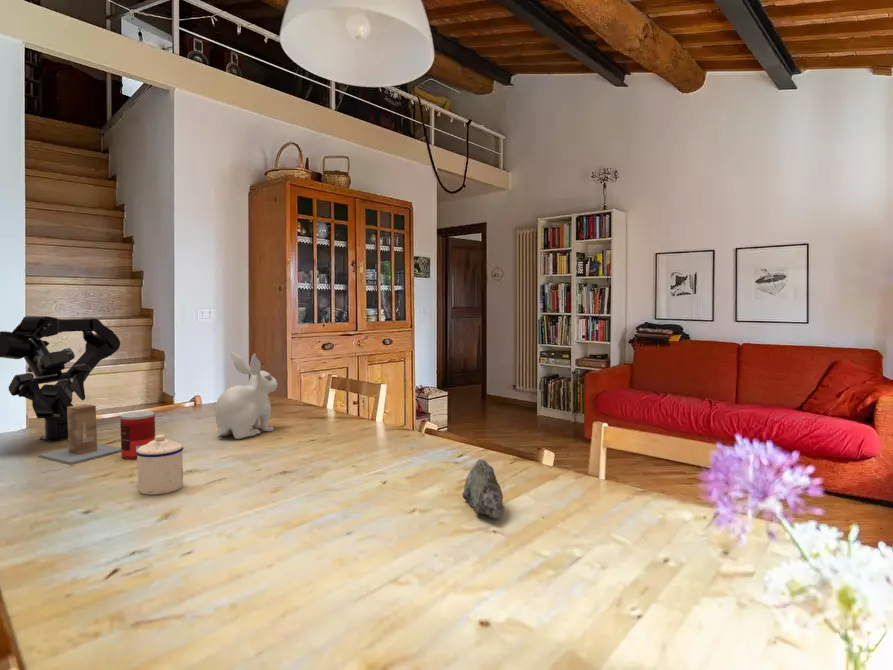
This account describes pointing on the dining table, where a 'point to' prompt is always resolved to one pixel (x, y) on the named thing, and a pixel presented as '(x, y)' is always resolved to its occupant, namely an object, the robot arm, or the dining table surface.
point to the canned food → (136, 432)
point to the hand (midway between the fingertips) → (66, 403)
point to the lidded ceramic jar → (160, 466)
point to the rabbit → (246, 401)
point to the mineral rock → (483, 490)
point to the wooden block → (82, 429)
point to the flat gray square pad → (72, 458)
